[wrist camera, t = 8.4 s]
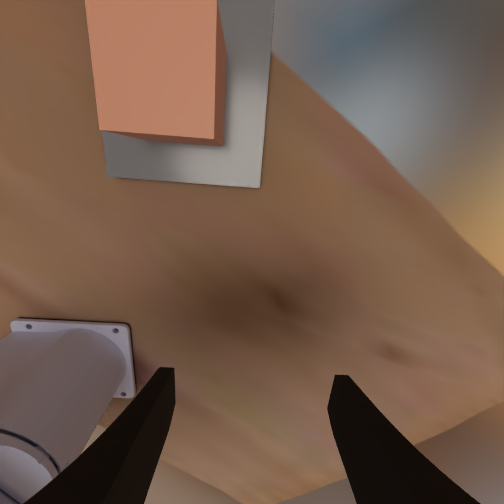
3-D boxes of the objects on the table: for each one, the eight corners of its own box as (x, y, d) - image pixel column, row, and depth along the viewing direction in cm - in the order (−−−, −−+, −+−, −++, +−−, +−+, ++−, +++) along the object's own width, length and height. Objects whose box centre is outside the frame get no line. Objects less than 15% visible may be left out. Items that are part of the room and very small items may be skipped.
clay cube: (143, 140, 16) (99, 129, 11) (137, 43, 14) (82, -18, 9) (223, 146, 16) (213, 138, 11) (226, 51, 14) (216, -4, 10)
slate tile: (116, 175, 18) (107, 176, 16) (98, -8, 14) (85, -23, 13) (258, 186, 18) (259, 187, 17) (272, 11, 15) (275, -2, 14)
